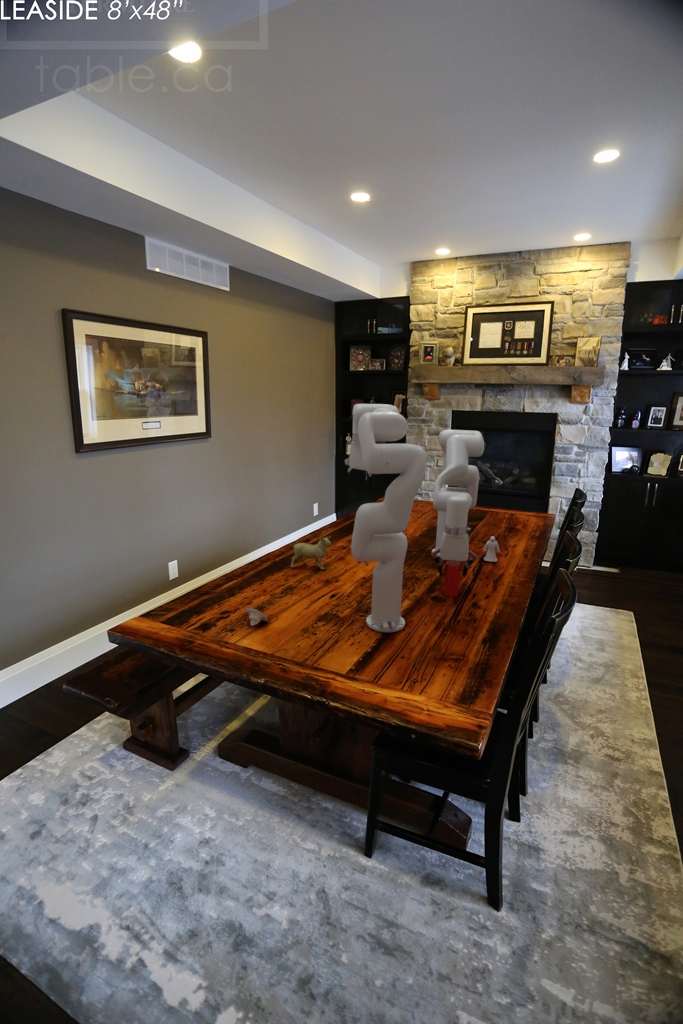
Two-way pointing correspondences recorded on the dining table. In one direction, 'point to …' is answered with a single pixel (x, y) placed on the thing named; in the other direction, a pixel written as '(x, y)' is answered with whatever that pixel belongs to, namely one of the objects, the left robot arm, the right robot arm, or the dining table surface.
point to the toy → (311, 551)
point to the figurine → (491, 550)
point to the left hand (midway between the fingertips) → (361, 484)
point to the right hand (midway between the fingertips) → (452, 575)
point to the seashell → (255, 616)
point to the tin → (452, 578)
